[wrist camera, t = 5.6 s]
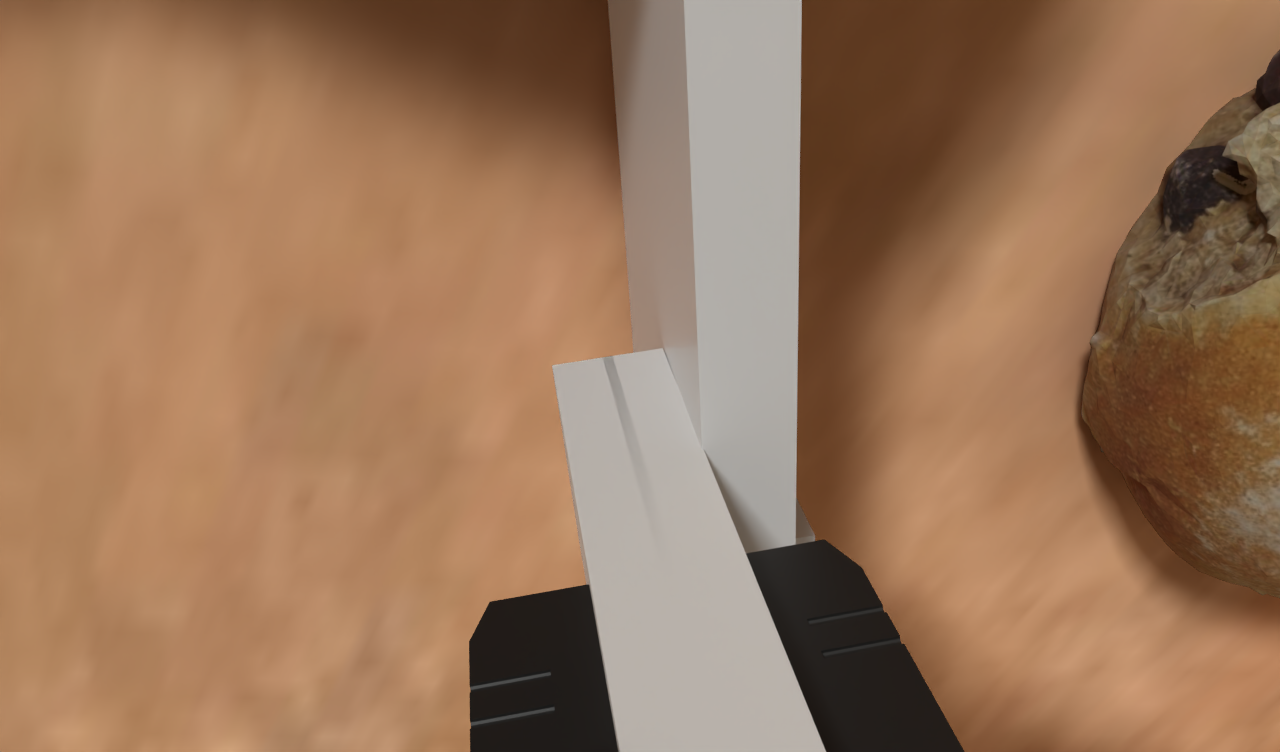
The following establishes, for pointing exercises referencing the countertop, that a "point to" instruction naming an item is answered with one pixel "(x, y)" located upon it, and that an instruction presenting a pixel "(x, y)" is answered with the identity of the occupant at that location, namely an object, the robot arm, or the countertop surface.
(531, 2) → the countertop surface
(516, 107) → the countertop surface
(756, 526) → the side door
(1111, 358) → the bread roll
